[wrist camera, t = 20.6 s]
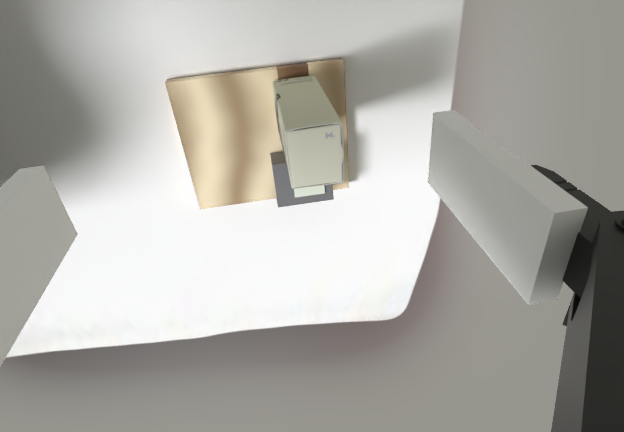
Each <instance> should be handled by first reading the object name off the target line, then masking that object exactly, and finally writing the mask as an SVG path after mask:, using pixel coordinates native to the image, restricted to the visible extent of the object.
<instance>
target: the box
mask: <svg viewBox="0 0 624 432" xmlns="http://www.w3.org/2000/svg"><path fill="white" fill-rule="evenodd" d="M272 84H273V95H274V104H275V112H276V119H277V125H278V131H279V135H280V139H281V144H282V148H283V152H284V156H285V160H286V164H287V168H288V172H289V177H290V182H291V187H292V188H293V189H296V188H304V187H313V186H322V185H329V184H336V183H342V182H343V181H344V172H345V170H344V138H343V123H342V121H341V120H340V118H339V116H338V114H337V113H336V111H335V109H334V108H333V106H332V104H331V103H330V101H329V99H328V98H327V96H326V94H325V92H324V91H323V89H322V87H321V86H320V84H319V82H318V80H317V79H316V77H315V76H304V77H296V78H288V79H281V80H275V81H273V83H272Z"/></svg>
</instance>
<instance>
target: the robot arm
mask: <svg viewBox="0 0 624 432" xmlns="http://www.w3.org/2000/svg"><path fill="white" fill-rule="evenodd" d="M428 183H429V184H430V185H431V187H432V188H433V189H434V190H435V192H436V193H437V194H438V195H439V196H440V198H441V199H442V200H443V201H444V202H445V204H446V205H447V206H448V207H449V209H450V210H451V211H452V212H453V214H454V215H455V216H456V217H457V218H458V220H459V221H460V222H461V223H462V225H463V226H464V227H465V228H466V229H467V231H468V232H469V233H470V234H471V236H472V237H473V238H474V239H475V240H476V242H477V243H478V244H479V245H480V246H481V248H482V249H483V250H484V251H485V253H486V254H487V255H488V256H489V258H490V259H491V260H492V261H493V262H494V264H495V265H496V266H497V267H498V268H499V270H500V271H501V272H502V273H503V275H504V276H505V277H506V278H507V279H508V281H509V282H510V283H511V284H512V286H513V287H514V288H515V289H516V290H517V292H518V293H519V294H520V295H521V297H522V298H523V299H524V300H525V301H526V303H527V304H528V305H532V304H537V303H543V302H548V301H554V300H557V299H558V296H559V293H560V290H561V287H562V284H563V281H564V282H565V283H566V284H567V285H568V286H569V287H570V288H571V289H572V290H573V291H574V295H573V297H572V300H571V303H570V306H569V308H568V311H567V314H566V316H565V319H564V322H563V325H565V326H567V329H566V336H565V342H564V349H563V356H562V363H561V370H560V376H559V383H558V389H557V396H556V403H555V410H554V417H553V423H552V430H551V432H624V211H615V212H611V211H609V210H608V209H607V208H605V207H604V206H602V205H601V204H599V203H598V202H597V201H595V200H594V199H592V198H591V197H589V196H588V195H587V194H585V193H584V192H582V191H581V190H577V188H576V187H575V186H574V185H572V184H571V183H569V182H568V183H567V182H566V180H565V179H564V178H562V177H561V176H559V175H558V174H556V173H555V172H553V171H550V170H548V169H545V168H543V167H540V166H537V165H532V166H530V165H529V164H528V163H526V162H525V161H524V160H522V159H521V158H519V157H518V156H517V155H515V154H514V153H513V152H511V151H510V150H508V149H507V148H506V147H504V146H503V145H502V144H500V143H499V142H497V141H496V140H495V139H493V138H492V137H491V136H489V135H488V134H487V133H485V132H484V131H483V130H481V129H480V128H478V127H477V126H476V125H474V124H473V123H472V122H470V121H469V120H467V119H466V118H465V117H463V116H462V115H461V114H459V113H458V112H457V111H455V110H451V111H444V112H436V113H433V125H432V138H431V150H430V163H429V175H428ZM76 236H77V232H76V230H75V228H74V226H73V224H72V222H71V220H70V218H69V216H68V214H67V212H66V210H65V208H64V205H63V203H62V201H61V199H60V197H59V195H58V193H57V191H56V189H55V187H54V185H53V183H52V181H51V179H50V177H49V175H48V173H47V171H46V169H45V167H44V165H43V166H35V167H28V168H21V169H19V170H17V171H16V172H15V173H14V174H13V175H12V176H11V177H10V178H9V179H8V180H7V181H6V182H5V183H4V184H3V185H2V186H1V187H0V366H1V364H2V363H3V361H4V359H5V358H6V356H7V354H8V352H9V351H10V349H11V347H12V346H13V344H14V342H15V340H16V339H17V337H18V335H19V334H20V332H21V330H22V328H23V327H24V325H25V323H26V322H27V320H28V318H29V316H30V315H31V313H32V311H33V310H34V308H35V306H36V304H37V303H38V301H39V299H40V298H41V296H42V294H43V292H44V291H45V289H46V287H47V286H48V284H49V282H50V280H51V279H52V277H53V275H54V274H55V272H56V270H57V268H58V267H59V265H60V263H61V262H62V260H63V258H64V256H65V255H66V253H67V251H68V250H69V248H70V246H71V244H72V243H73V241H74V239H75V238H76Z"/></svg>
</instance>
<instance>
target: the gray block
mask: <svg viewBox="0 0 624 432" xmlns="http://www.w3.org/2000/svg"><path fill="white" fill-rule="evenodd" d="M270 155H271V162H272V169H273V176H274V183H275V189H276V196H277V203H278V207H284V206H291V205H297V204H304V203H311V202H318V201H325V200H332V199H333V184H329V185H322V186H313V187H304V188H296V189H293V188H292V187H291V182H290V177H289V172H288V168H287V164H286V160H285V156H284V152H283V151H280V152H273V153H270Z"/></svg>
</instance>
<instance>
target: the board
mask: <svg viewBox="0 0 624 432" xmlns="http://www.w3.org/2000/svg"><path fill="white" fill-rule="evenodd" d="M304 76H315V77H316V79H317V80H318V82H319V84H320V86H321V87H322V89H323V91H324V92H325V94H326V96H327V98H328V99H329V101H330V103H331V104H332V106H333V108H334V109H335V111H336V113H337V114H338V116H339V118H340V120H341V121H342V123H343V138H344V170H345V172H344V181H343V182H342V183H336V184H333V190H335V189H342V188H349V176H348V151H347V126H346V101H345V75H344V60H343V59H342V58H339V59H331V60H323V61H314V62H306V63H298V64H290V65H282V66H274V67H265V68H257V69H249V70H241V71H233V72H224V73H216V74H208V75H200V76H192V77H184V78H175V79H167V81H166V82H165V84H166V88H167V91H168V95H169V99H170V102H171V106H172V109H173V113H174V117H175V120H176V124H177V127H178V131H179V135H180V138H181V142H182V146H183V149H184V153H185V156H186V160H187V164H188V167H189V171H190V175H191V178H192V182H193V185H194V189H195V193H196V196H197V200H198V203H199V207H200V209H206V208H212V207H219V206H226V205H233V204H240V203H247V202H253V201H260V200H267V199H274V198H277V196H276V189H275V183H274V176H273V169H272V162H271V155H270V153H273V152H280V151H283V148H282V144H281V139H280V135H279V131H278V125H277V119H276V112H275V104H274V95H273V84H272V83H273V81H275V80H281V79H288V78H296V77H304Z"/></svg>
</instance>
